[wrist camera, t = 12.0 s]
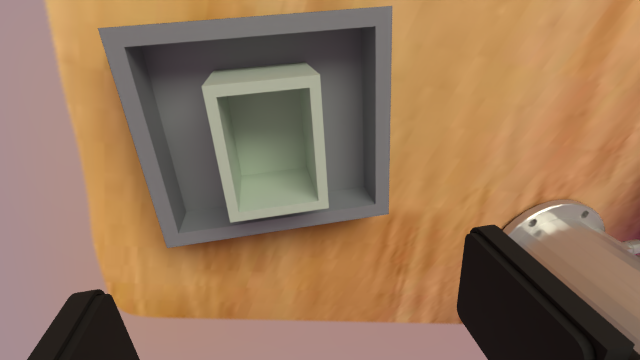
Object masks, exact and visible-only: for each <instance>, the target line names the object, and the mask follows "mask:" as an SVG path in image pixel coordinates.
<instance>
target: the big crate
mask: <svg viewBox="0 0 640 360" xmlns="http://www.w3.org/2000/svg"><path fill="white" fill-rule="evenodd" d="M98 30H99V34H100V37H101V40H102V43H103V46H104V49H105V53H106V56H107V59H108V62H109V65H110V68H111V72H112V75H113V78H114V81H115V84H116V87H117V91H118V94H119V97H120V100H121V103H122V106H123V110H124V113H125V116H126V119H127V122H128V125H129V129H130V132H131V135H132V138H133V141H134V145H135V148H136V151H137V154H138V157H139V160H140V164H141V167H142V170H143V173H144V176H145V179H146V183H147V186H148V189H149V192H150V195H151V198H152V202H153V205H154V208H155V211H156V214H157V217H158V221H159V224H160V227H161V230H162V233H163V236H164V240H165V243H166V246H167V248H170V247H177V246H184V245H190V244H197V243H203V242H210V241H216V240H223V239H229V238H236V237H242V236H249V235H255V234H262V233H268V232H275V231H281V230H288V229H294V228H301V227H307V226H314V225H321V224H327V223H334V222H340V221H347V220H353V219H360V218H366V217H373V216H379V215H386V214H389V161H390V107H391V52H392V6H386V7H372V8H359V9H346V10H333V11H320V12H306V13H293V14H280V15H267V16H254V17H241V18H227V19H214V20H201V21H188V22H175V23H162V24H148V25H135V26H122V27H109V28H98ZM297 62H306V63H307V64H308V65H309V66H310V67H312V68H313V69H314V70H315V71H316V72H317V73H319V74H320V82H321V97H322V112H323V127H324V142H325V157H326V172H327V187H328V202H329V208H326V209H319V210H313V211H306V212H299V213H292V214H285V215H279V216H272V217H265V218H258V219H251V220H245V221H238V222H231V223H230V219H229V214H228V209H227V205H226V200H225V195H224V190H223V186H222V181H221V176H220V172H219V167H218V162H217V157H216V153H215V148H214V143H213V138H212V134H211V129H210V124H209V119H208V115H207V110H206V105H205V100H204V96H203V91H202V85H203V84H204V82H205V81H206V80H207V79H208V77H209V76H210V75H211V73H212V72H213V71H214V70H222V69H233V68H243V67H254V66H265V65H276V64H286V63H297Z"/></svg>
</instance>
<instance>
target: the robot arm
mask: <svg viewBox="0 0 640 360" xmlns="http://www.w3.org/2000/svg"><path fill="white" fill-rule="evenodd" d="M638 253H640V240H638V239H634V240H629V241H623V242H620V241H619V240H617V239H615V238H614V237H612V236H610V235H609V234H607V233H605V227H604V224H603V220H602V219H601V217H600V216H599V214H598V213H597V212H596V211H594V210H593V209H592V208H590V207H588V206H586V205H585V204H583V203H581V202H578V201H574V200H555V201H549V202H546V203H543V204H540V205H537V206H535V207H533V208H531V209H529V210H527V211H525V212H524V213H522V214H521V215H519V216H518V217H517V218H515V219H514V220H513V221H512V222H511V223H510V224H508V225H507V226H506V227H505V228H504V230H503V231H502V230H501V229H500V228H499V227H497V226H496V225H487V226H481V227H475V228H473V229H472V230H471V231H470V234H467V235H466V237H465V244H464V252H463V260H462V268H461V276H460V284H459V292H458V300H457V311H458V315H459V317H460V319H461V321H462V322H463V324H464V325H465V327H466V328H467V330H468V331H469V332H470V334H471V335H472V337H473V338H474V340H475V341H476V342H477V344H478V346H479V347H480V349H481V350H482V351H483V353H484V354H485V356H486V357H487V359H488V360H640V255H634V254H638ZM27 360H140V359H139V357H138V355H137V352H136V350H135V348H134V346H133V343H132V341H131V339H130V337H129V334H128V332H127V330H126V327H125V325H124V323H123V320H122V318H121V316H120V313H119V311H118V309H117V306H116V304H115V302H114V300H113V297H112V296H111V295H110V294H105V293H104V292H103V291H102V290H100V289H99V290H98V289H97V290H91V291H85V292H79V293H74V294H72V295H71V296H70V297H69V298H68V300H67V301H66V303H65V304H64V306H63V307H62V309H61V310H60V312H59V313H58V315H57V316H56V317H55V319H54V320H53V322H52V323H51V325H50V326H49V328H48V330H47V331H46V333H45V334H44V335H43V337H42V338H41V340H40V341H39V343H38V344H37V346H36V347H35V349H34V350H33V352H32V353H31V355H30V356H29V358H28V359H27Z"/></svg>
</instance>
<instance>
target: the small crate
mask: <svg viewBox="0 0 640 360" xmlns="http://www.w3.org/2000/svg"><path fill="white" fill-rule="evenodd" d="M202 91H203V96H204V100H205V105H206V110H207V115H208V119H209V124H210V129H211V134H212V138H213V143H214V148H215V153H216V157H217V162H218V167H219V172H220V176H221V181H222V186H223V190H224V195H225V200H226V205H227V209H228V214H229V219H230V223H231V222H238V221H245V220H251V219H258V218H265V217H272V216H279V215H285V214H292V213H299V212H306V211H313V210H319V209H326V208H329V202H328V187H327V172H326V157H325V142H324V127H323V112H322V97H321V82H320V74H319V73H317V72H316V71H315V70H314V69H313V68H312V67H310V66H309V65H308V64H307V63H306V62H297V63H286V64H276V65H265V66H254V67H243V68H233V69H222V70H214V71H213V72H212V73H211V75H210V76H209V77H208V79H207V80H206V81H205V82H204V84H203V85H202Z"/></svg>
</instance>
